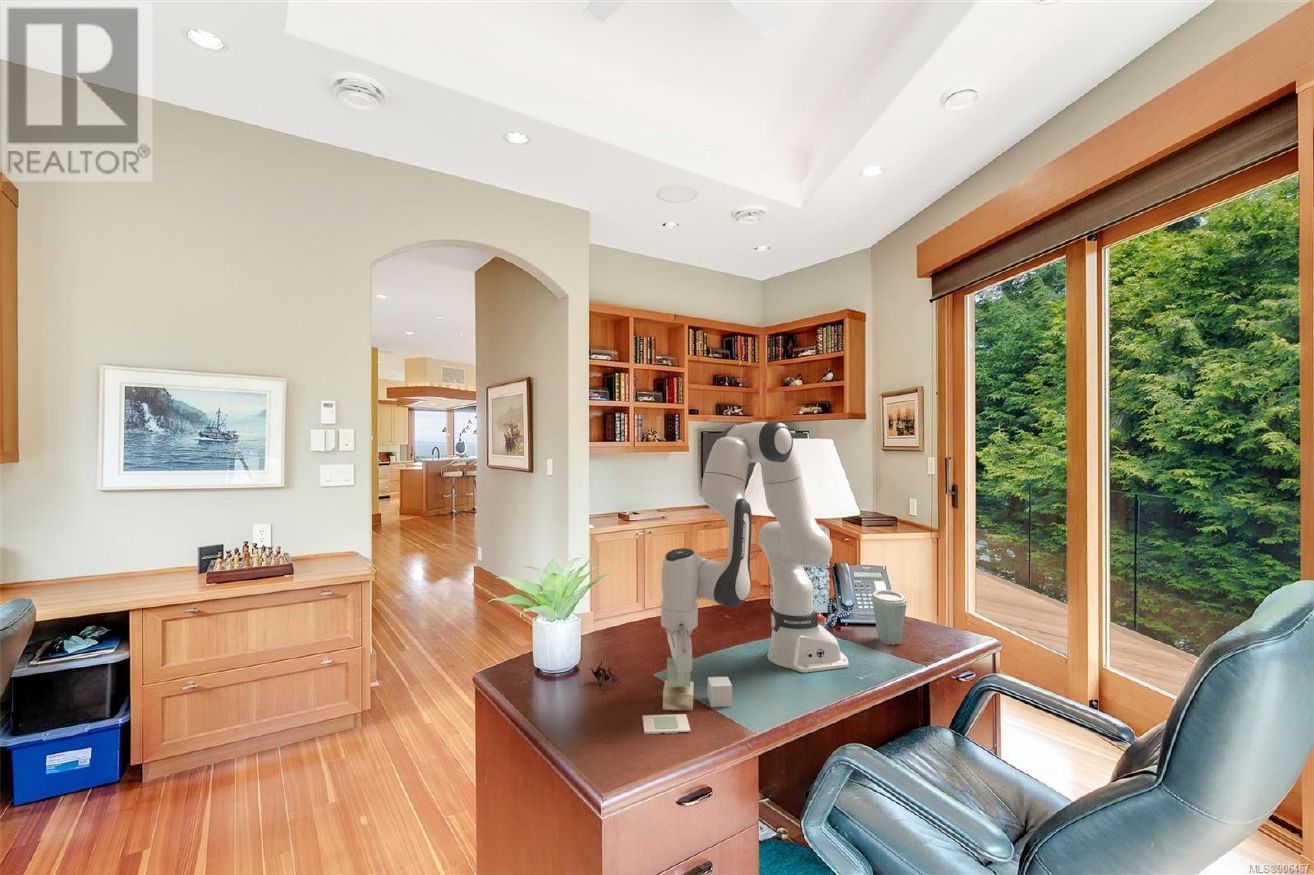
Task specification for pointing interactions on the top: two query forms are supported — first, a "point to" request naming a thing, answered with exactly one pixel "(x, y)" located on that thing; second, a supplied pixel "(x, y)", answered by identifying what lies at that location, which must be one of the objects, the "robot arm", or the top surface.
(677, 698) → the birch block
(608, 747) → the top surface
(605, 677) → the creature
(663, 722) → the tile
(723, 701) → the grey cube
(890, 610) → the disposable coffee cup
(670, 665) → the sage cube
